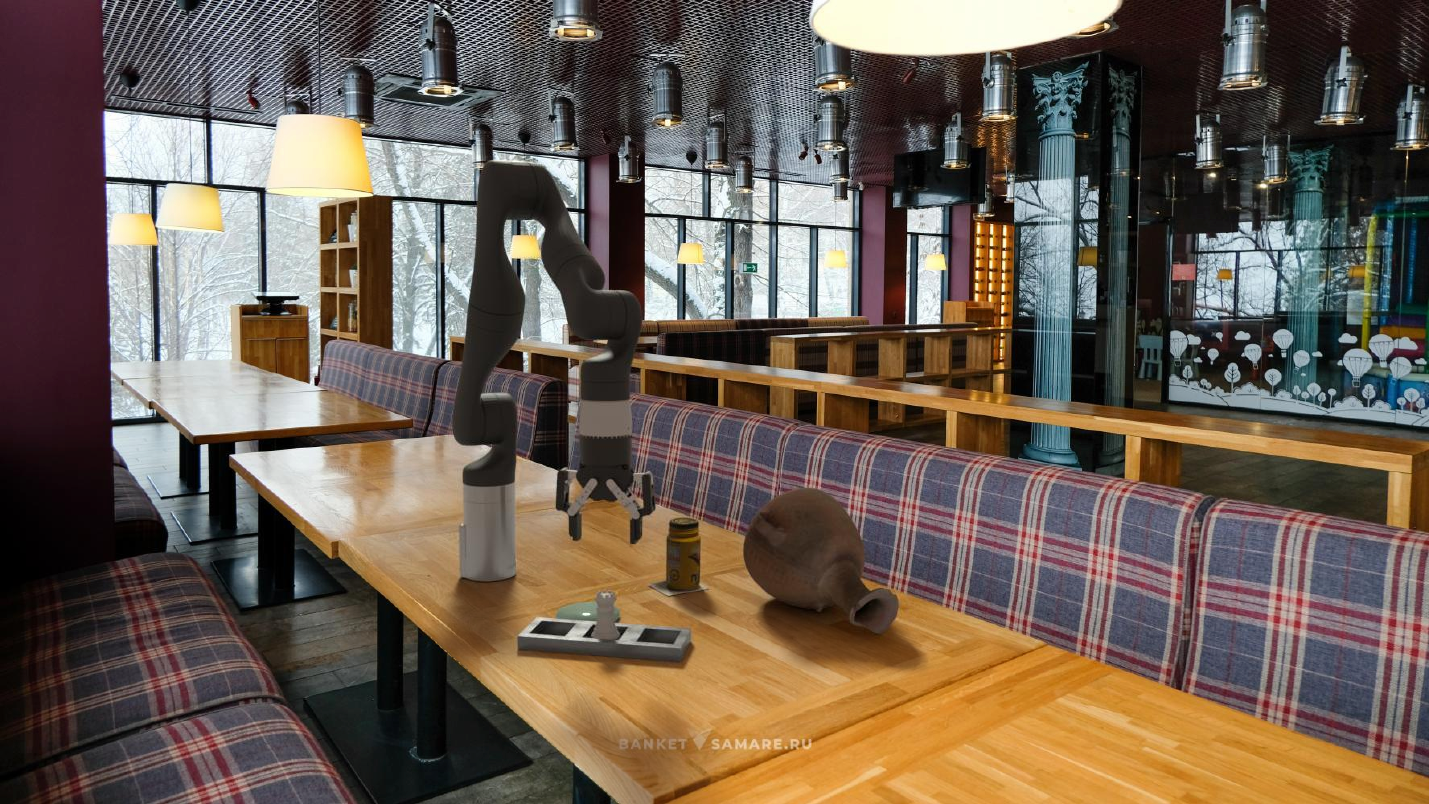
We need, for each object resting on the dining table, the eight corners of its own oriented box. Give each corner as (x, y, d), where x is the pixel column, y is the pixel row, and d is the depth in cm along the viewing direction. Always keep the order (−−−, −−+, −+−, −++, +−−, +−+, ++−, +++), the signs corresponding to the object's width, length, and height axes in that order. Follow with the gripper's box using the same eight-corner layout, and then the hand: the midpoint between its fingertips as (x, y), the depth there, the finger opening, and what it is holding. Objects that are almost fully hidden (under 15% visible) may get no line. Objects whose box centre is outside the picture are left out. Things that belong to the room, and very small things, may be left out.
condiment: (709, 589, 163) (710, 522, 162) (668, 597, 159) (668, 528, 157) (687, 578, 169) (688, 513, 168) (647, 585, 165) (647, 519, 163)
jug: (729, 589, 163) (823, 680, 138) (719, 488, 156) (816, 565, 131) (827, 554, 171) (932, 634, 146) (821, 457, 164) (931, 523, 139)
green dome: (547, 625, 144) (547, 620, 144) (567, 604, 154) (567, 600, 154) (610, 630, 143) (610, 625, 142) (626, 608, 152) (626, 604, 152)
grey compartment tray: (517, 649, 134) (517, 635, 134) (536, 629, 142) (536, 617, 142) (680, 661, 131) (680, 648, 130) (691, 641, 138) (691, 628, 138)
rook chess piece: (590, 639, 139) (590, 587, 138) (621, 639, 139) (621, 587, 138) (589, 651, 134) (589, 597, 133) (620, 650, 134) (620, 597, 134)
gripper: (548, 432, 130) (549, 545, 132) (647, 436, 128) (647, 551, 130) (565, 425, 138) (566, 532, 139) (659, 428, 135) (659, 537, 137)
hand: (605, 541), depth 135 cm, fingers open, 8 cm apart
